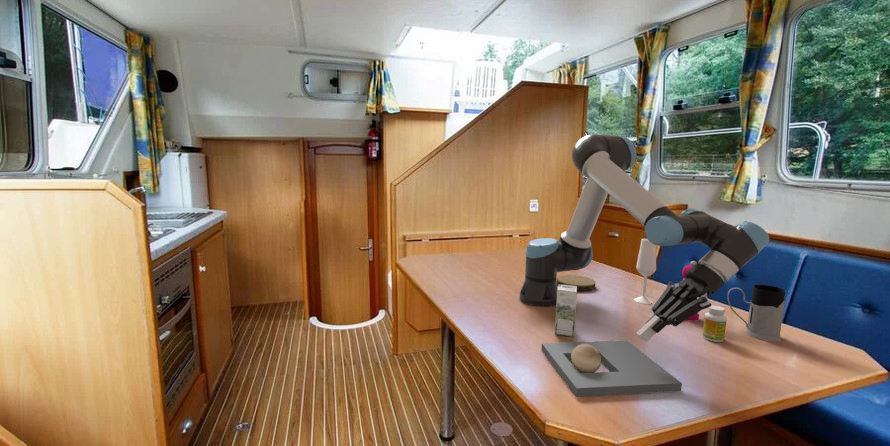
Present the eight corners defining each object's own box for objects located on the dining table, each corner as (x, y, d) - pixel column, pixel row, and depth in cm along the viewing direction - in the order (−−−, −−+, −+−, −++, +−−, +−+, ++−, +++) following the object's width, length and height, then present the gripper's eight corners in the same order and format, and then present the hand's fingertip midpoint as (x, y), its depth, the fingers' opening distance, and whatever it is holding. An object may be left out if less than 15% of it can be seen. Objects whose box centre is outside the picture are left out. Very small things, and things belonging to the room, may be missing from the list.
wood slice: (563, 279, 178) (563, 273, 177) (599, 285, 168) (599, 279, 168) (551, 287, 165) (551, 280, 164) (589, 295, 156) (589, 287, 155)
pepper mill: (704, 322, 128) (710, 264, 125) (680, 320, 129) (686, 262, 126) (694, 314, 135) (701, 259, 132) (672, 313, 136) (677, 257, 133)
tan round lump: (603, 341, 95) (605, 365, 97) (575, 336, 99) (578, 359, 101) (594, 358, 90) (597, 383, 91) (565, 351, 94) (568, 375, 96)
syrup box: (574, 330, 121) (577, 285, 119) (574, 337, 115) (577, 291, 113) (555, 327, 122) (558, 283, 120) (554, 334, 117) (556, 288, 115)
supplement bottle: (717, 344, 112) (721, 312, 111) (698, 336, 117) (701, 306, 115) (727, 340, 115) (731, 309, 113) (708, 333, 119) (712, 303, 118)
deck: (626, 347, 109) (627, 340, 109) (681, 391, 88) (681, 383, 87) (541, 350, 107) (541, 343, 107) (576, 396, 85) (576, 388, 85)
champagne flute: (634, 302, 147) (639, 240, 143) (632, 297, 153) (637, 237, 149) (654, 304, 144) (659, 242, 141) (652, 299, 150) (657, 239, 147)
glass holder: (784, 344, 113) (791, 294, 111) (724, 332, 120) (730, 286, 118) (778, 333, 120) (784, 287, 118) (722, 323, 127) (727, 279, 125)
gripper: (741, 291, 90) (667, 360, 91) (699, 275, 103) (635, 335, 104) (723, 270, 89) (648, 339, 90) (683, 256, 102) (618, 317, 103)
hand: (641, 337), depth 97 cm, fingers closed
